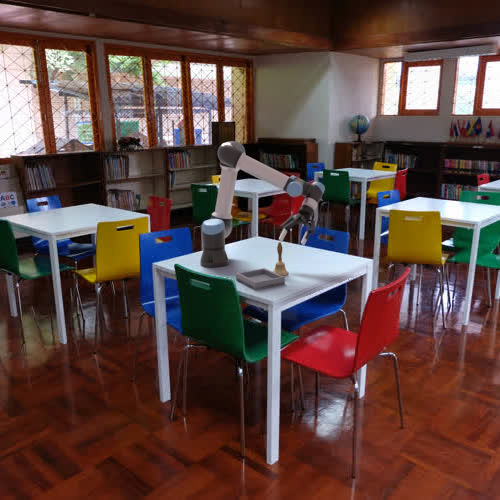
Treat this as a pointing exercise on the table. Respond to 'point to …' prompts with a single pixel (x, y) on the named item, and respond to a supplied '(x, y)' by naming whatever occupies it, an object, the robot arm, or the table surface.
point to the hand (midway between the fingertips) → (291, 242)
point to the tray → (260, 278)
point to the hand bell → (280, 262)
